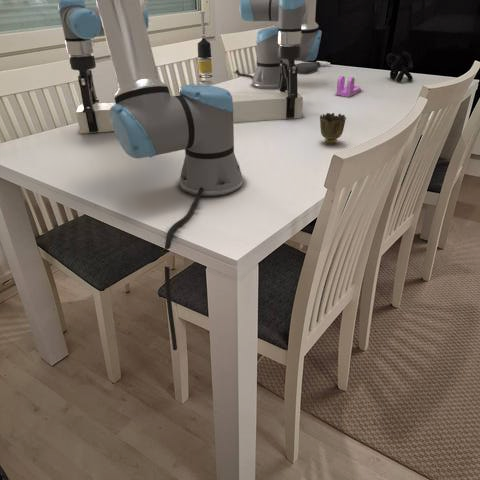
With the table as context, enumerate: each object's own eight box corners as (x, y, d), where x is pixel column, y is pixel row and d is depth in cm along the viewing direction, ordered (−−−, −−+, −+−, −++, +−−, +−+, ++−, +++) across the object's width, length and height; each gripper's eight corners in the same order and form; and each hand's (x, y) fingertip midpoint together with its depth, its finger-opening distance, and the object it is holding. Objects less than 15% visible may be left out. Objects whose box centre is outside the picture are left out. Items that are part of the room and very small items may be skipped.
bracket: (349, 96, 177) (351, 78, 174) (336, 94, 180) (337, 76, 177) (362, 90, 186) (364, 72, 182) (350, 88, 189) (352, 71, 185)
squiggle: (400, 92, 202) (376, 71, 205) (417, 76, 202) (392, 56, 205) (405, 81, 191) (380, 59, 194) (423, 64, 191) (397, 42, 194)
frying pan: (288, 71, 219) (314, 64, 235) (307, 74, 213) (332, 66, 229) (288, 65, 217) (314, 58, 233) (307, 68, 211) (333, 60, 228)
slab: (80, 133, 145) (76, 112, 141) (83, 125, 152) (79, 104, 148) (301, 117, 155) (302, 97, 152) (294, 110, 163) (295, 91, 159)
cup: (314, 144, 132) (316, 118, 127) (322, 137, 137) (324, 111, 133) (339, 148, 129) (341, 121, 124) (346, 140, 134) (349, 114, 130)
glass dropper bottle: (214, 91, 188) (211, 12, 172) (202, 93, 186) (197, 13, 170) (210, 88, 192) (206, 11, 176) (198, 90, 190) (193, 11, 175)
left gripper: (90, 60, 128) (104, 136, 140) (96, 48, 146) (108, 117, 158) (63, 62, 127) (79, 138, 139) (73, 49, 145) (87, 118, 157)
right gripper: (310, 49, 138) (305, 121, 150) (291, 39, 156) (288, 104, 168) (286, 50, 137) (284, 123, 149) (270, 40, 155) (269, 106, 167)
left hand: (95, 127), depth 149 cm, fingers closed on slab, 9 cm apart
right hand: (286, 113), depth 158 cm, fingers open, 9 cm apart
